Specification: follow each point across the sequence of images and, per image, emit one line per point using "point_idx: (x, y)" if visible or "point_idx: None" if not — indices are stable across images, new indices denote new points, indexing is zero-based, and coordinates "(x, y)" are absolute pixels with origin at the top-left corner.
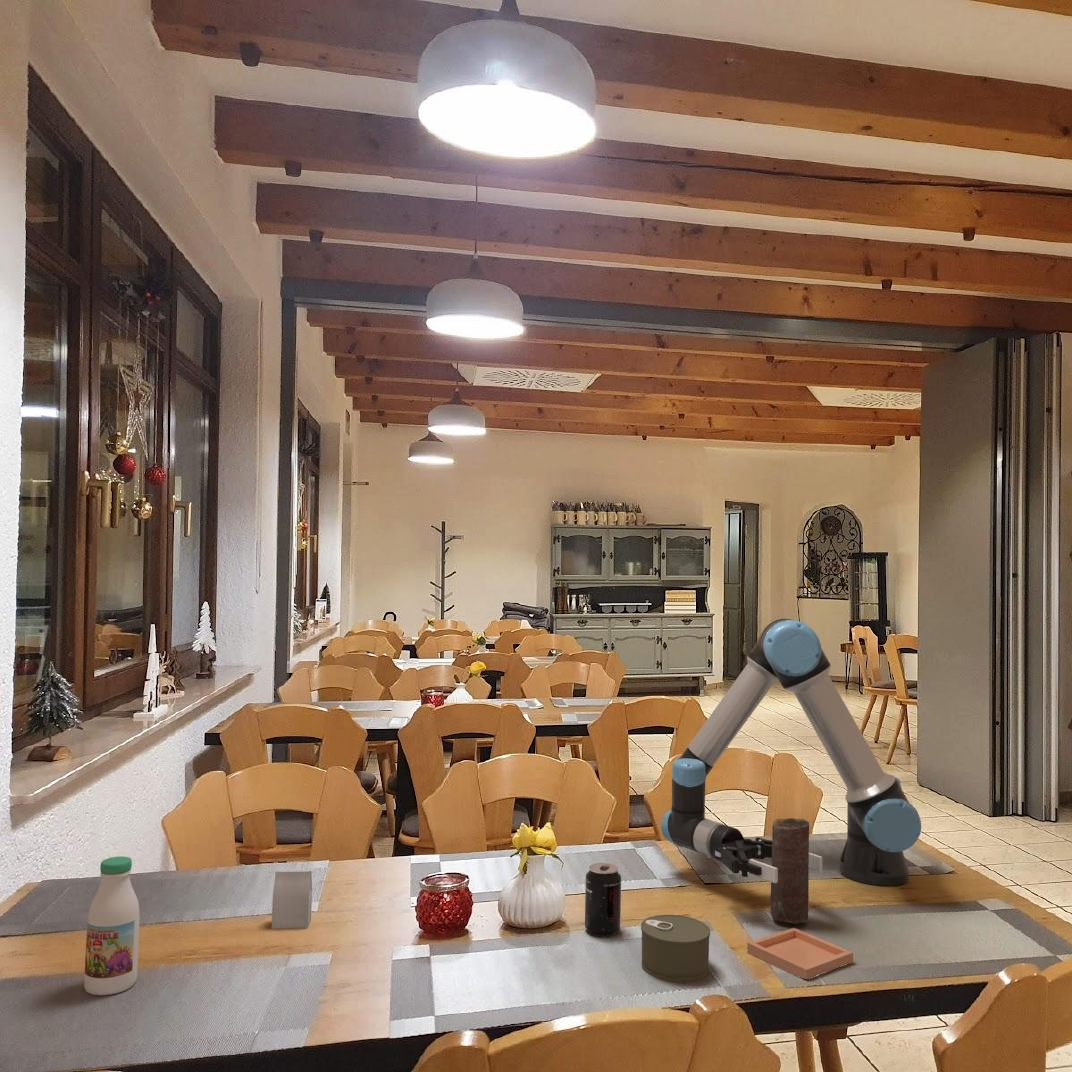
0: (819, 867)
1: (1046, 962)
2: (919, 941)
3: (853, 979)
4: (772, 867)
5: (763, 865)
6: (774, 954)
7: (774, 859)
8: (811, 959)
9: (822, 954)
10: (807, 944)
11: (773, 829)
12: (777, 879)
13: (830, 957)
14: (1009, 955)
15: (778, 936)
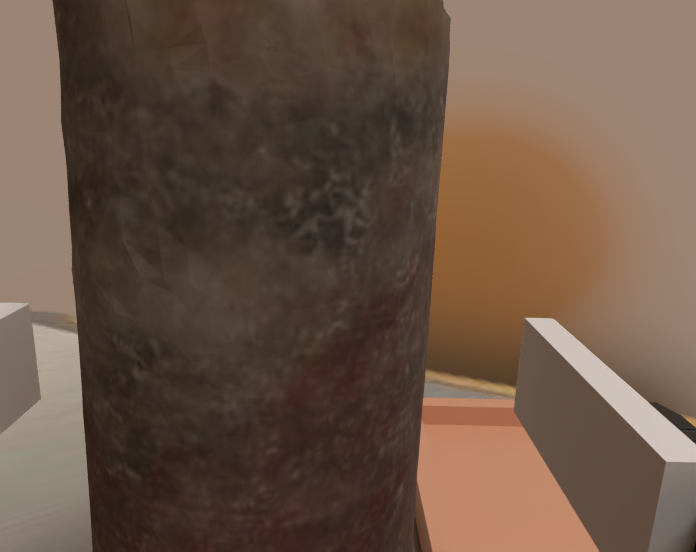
0: (37, 376)
1: (45, 312)
2: (80, 409)
3: (473, 396)
4: (555, 330)
5: (602, 369)
6: None
7: (423, 358)
8: (526, 455)
9: (462, 456)
10: (453, 511)
11: (434, 46)
12: (518, 391)
13: (490, 406)
14: (46, 333)
15: (577, 548)
